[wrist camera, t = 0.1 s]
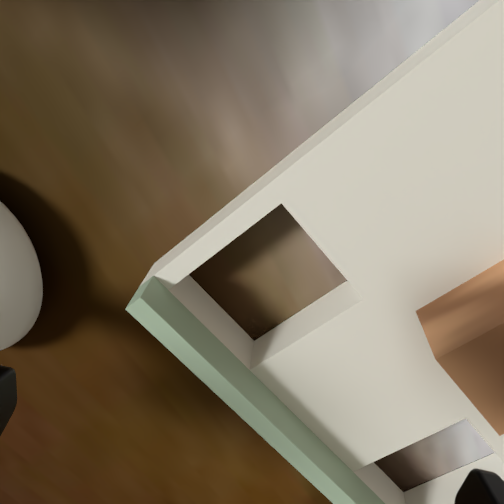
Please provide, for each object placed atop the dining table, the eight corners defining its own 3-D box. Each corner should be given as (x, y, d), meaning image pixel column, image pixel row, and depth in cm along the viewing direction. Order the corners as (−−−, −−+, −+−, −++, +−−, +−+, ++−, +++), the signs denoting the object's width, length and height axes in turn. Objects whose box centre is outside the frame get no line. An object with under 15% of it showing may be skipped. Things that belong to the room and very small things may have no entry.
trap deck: (398, 506, 31) (413, 578, 26) (154, 263, 24) (125, 309, 20) (779, 345, 23) (882, 412, 19) (564, -69, 17) (648, -102, 13)
